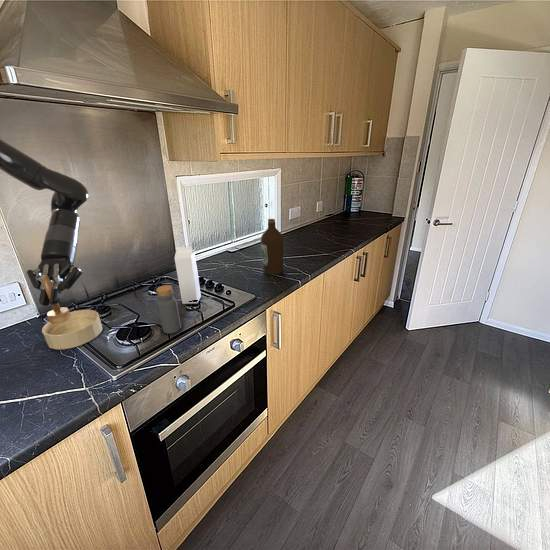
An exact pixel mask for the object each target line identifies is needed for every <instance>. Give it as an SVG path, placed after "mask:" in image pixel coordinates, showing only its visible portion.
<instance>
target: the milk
mask: <svg viewBox="0 0 550 550" xmlns="http://www.w3.org/2000/svg"><path fill="white" fill-rule="evenodd" d="M174 254H175V255H174V263H175V269H176V275H177V281H178V286H179V292H180V296H181V297H180V298H181V303H182V305H192V304H194V305H196V304H197V305H198V304H199V301H200V299H201V297H202V292H201V287H200V280H199V273H198V266H197V259H196V252H195V251H194V250H193V246H176V247H175V253H174ZM192 300H198V301H197V302H189V301H192Z"/></svg>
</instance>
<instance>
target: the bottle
mask: <svg viewBox="0 0 550 550" xmlns="http://www.w3.org/2000/svg"><path fill="white" fill-rule="evenodd" d="M155 291H156V293H157V294H156V298H157V299H158V300H157V301H156V304H157V305H156V306H157V310H158V314H159V320H160V324H161V329H162V331H163V333H164V334H168V335H169V334H174V333H177V332H179V331H181V329H182V322H181V318H180V317H181V316H180V313H179V312H180V311H179V307H178V301H177V299H176V297H174V296H175V292H174V290H173V286H172V285H169V284H164V285H160V286H158V287H156V289H155Z"/></svg>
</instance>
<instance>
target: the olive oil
mask: <svg viewBox="0 0 550 550" xmlns="http://www.w3.org/2000/svg"><path fill="white" fill-rule="evenodd" d="M284 240H285V239H284V235H283V234H282V233H281V232H280V230H278V229H277V227H276V219H275V218H268V219H267V228H266V230H265V231H264V232H263V233H262V235H261V237H260V248H261V258H262V259H261V260H262V268H263V273H264V274H266V275H271V276H273V275H280V274H281V273H283V271H284V248H285V247H284V245H285V241H284Z"/></svg>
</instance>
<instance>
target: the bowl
mask: <svg viewBox="0 0 550 550" xmlns="http://www.w3.org/2000/svg"><path fill="white" fill-rule="evenodd" d="M69 312H70V315H71V317H70V319H68V320H67V321H65V322H62V323H58V324H51V323H50V321H49V320H48V322H46V323H45V324H44V325H43V326H42V328H41V333H42V337H43V339H44V342H45V343H46V345H47V346H48V348H49V349H53V350H69V349H73V348H76V347H79V346H82V345H85V344H87V343H89V342H91V341H93V340H95V338H97V337H98V336H99V335H100V334H101V333H102V331H103V329H104V328H103V323H102V320H101V317H100V313H99V312H98V311H96V310H93V309H77V310H74V311H69Z"/></svg>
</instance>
